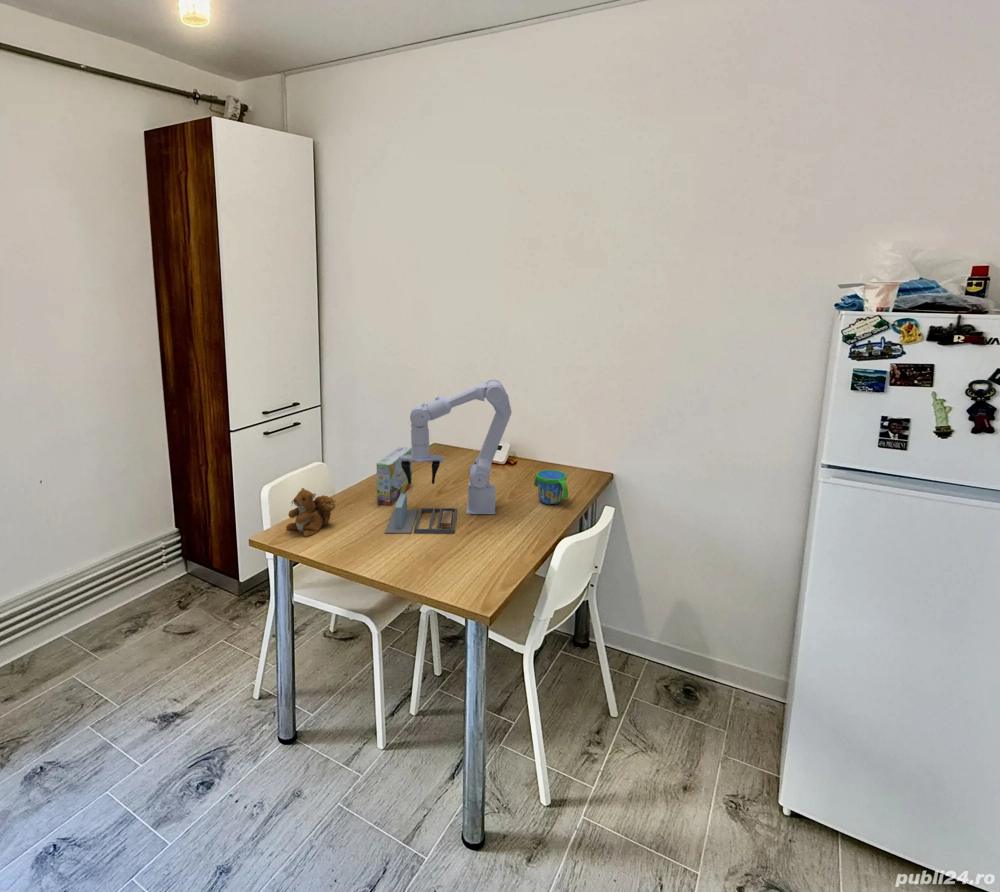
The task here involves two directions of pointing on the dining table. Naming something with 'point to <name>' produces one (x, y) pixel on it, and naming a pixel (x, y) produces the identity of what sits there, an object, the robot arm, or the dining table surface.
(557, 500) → the snack cup
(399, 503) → the blue-grey rectangular block
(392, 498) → the snack box
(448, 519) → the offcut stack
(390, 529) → the charcoal mat
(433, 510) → the metal rack
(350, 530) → the dining table surface
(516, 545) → the dining table surface
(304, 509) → the stuffed squirrel
